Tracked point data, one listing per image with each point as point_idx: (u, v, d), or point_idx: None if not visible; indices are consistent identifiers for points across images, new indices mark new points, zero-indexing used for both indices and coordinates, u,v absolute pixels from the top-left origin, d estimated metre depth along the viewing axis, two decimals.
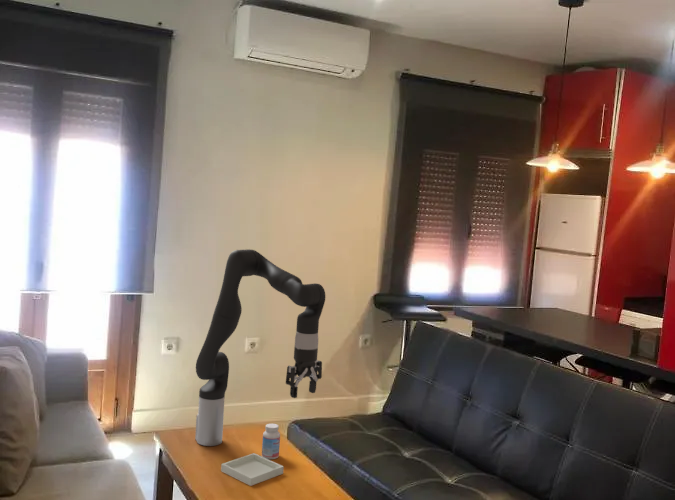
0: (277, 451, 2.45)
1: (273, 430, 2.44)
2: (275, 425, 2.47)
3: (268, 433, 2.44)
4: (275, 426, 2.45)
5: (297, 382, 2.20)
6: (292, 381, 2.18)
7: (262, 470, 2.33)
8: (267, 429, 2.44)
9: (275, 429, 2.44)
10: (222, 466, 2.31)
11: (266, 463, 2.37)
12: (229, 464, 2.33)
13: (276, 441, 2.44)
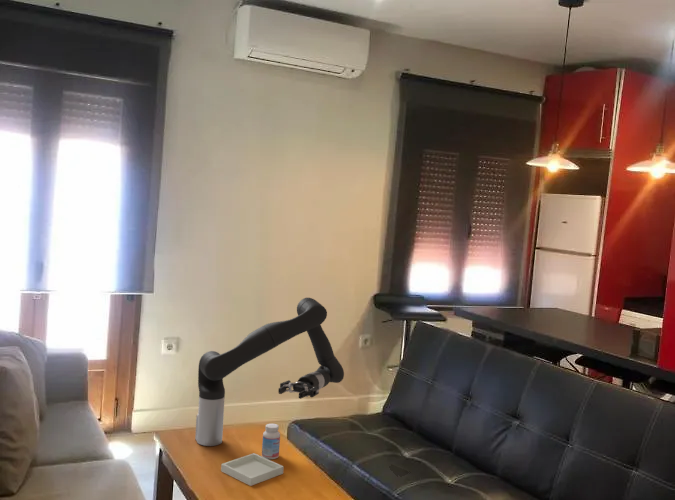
0: (277, 451, 2.45)
1: (273, 430, 2.44)
2: (275, 425, 2.47)
3: (268, 433, 2.44)
4: (275, 426, 2.45)
5: None
6: None
7: (262, 470, 2.33)
8: (267, 429, 2.44)
9: (275, 429, 2.44)
10: (222, 466, 2.31)
11: (266, 463, 2.37)
12: (229, 464, 2.33)
13: (276, 441, 2.44)
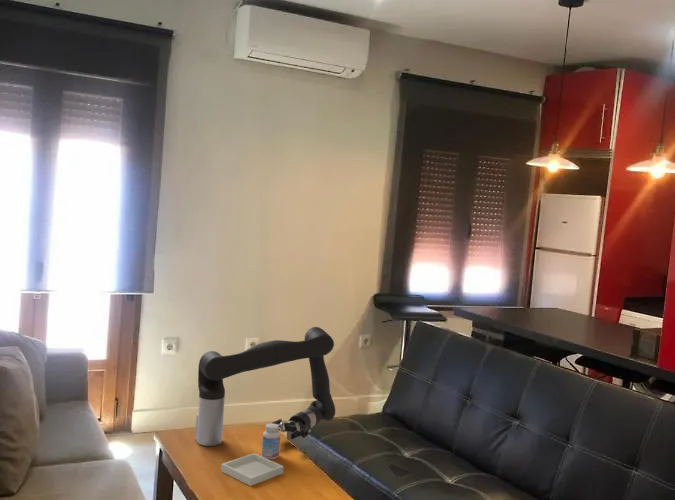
0: (277, 451, 2.45)
1: (273, 430, 2.44)
2: (275, 425, 2.47)
3: (268, 433, 2.44)
4: (275, 426, 2.45)
5: None
6: None
7: (262, 470, 2.33)
8: (267, 429, 2.44)
9: (275, 429, 2.44)
10: (222, 466, 2.31)
11: (266, 463, 2.37)
12: (229, 464, 2.33)
13: (276, 441, 2.44)
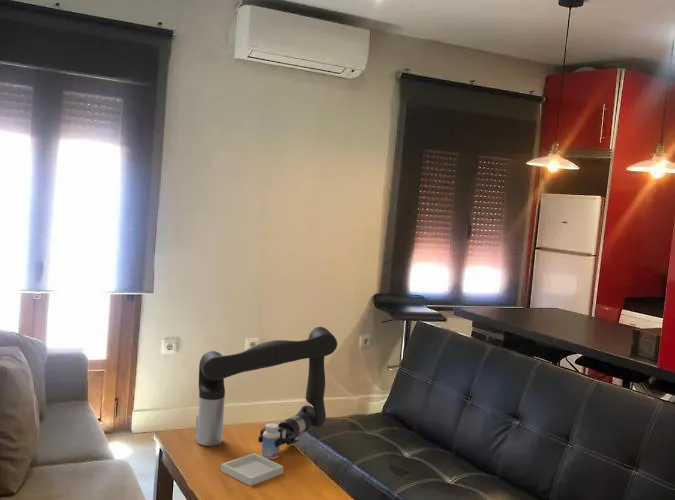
0: (277, 451, 2.45)
1: (273, 430, 2.44)
2: (275, 425, 2.47)
3: (268, 433, 2.44)
4: (275, 426, 2.45)
5: None
6: None
7: (262, 470, 2.33)
8: (267, 429, 2.44)
9: (275, 429, 2.44)
10: (222, 466, 2.31)
11: (266, 463, 2.37)
12: (229, 464, 2.33)
13: None
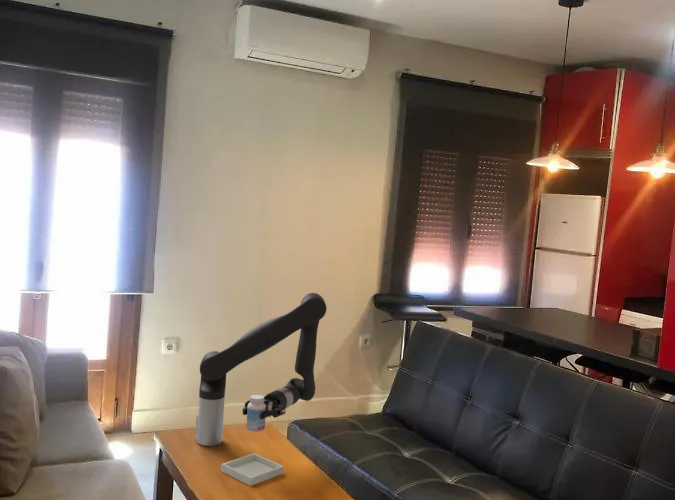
0: (263, 424, 2.30)
1: (258, 401, 2.28)
2: (260, 396, 2.31)
3: (253, 405, 2.29)
4: (260, 398, 2.29)
5: None
6: None
7: (262, 470, 2.33)
8: (252, 400, 2.29)
9: (260, 400, 2.29)
10: (222, 466, 2.31)
11: (266, 463, 2.37)
12: (229, 464, 2.33)
13: None
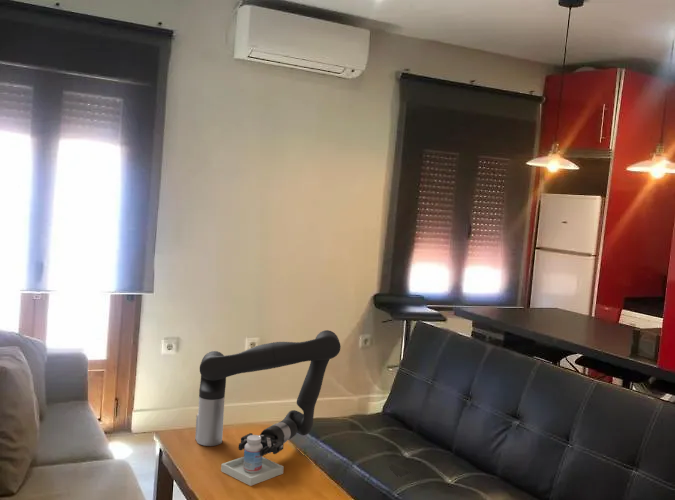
0: (259, 464, 2.31)
1: (255, 442, 2.29)
2: (257, 437, 2.32)
3: (250, 446, 2.30)
4: (257, 439, 2.30)
5: None
6: None
7: (262, 470, 2.33)
8: (249, 441, 2.30)
9: (257, 441, 2.30)
10: (222, 466, 2.31)
11: (266, 463, 2.37)
12: (229, 464, 2.33)
13: (259, 454, 2.30)
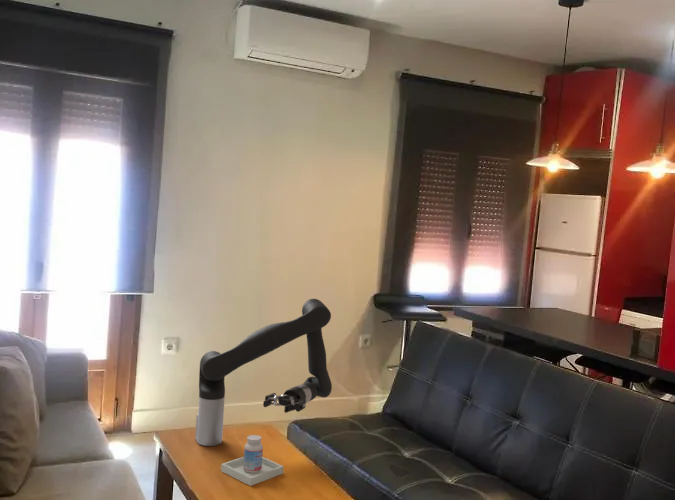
0: (259, 464, 2.31)
1: (255, 442, 2.30)
2: (257, 437, 2.32)
3: (250, 445, 2.30)
4: (257, 438, 2.31)
5: None
6: None
7: (262, 470, 2.33)
8: (249, 441, 2.30)
9: (257, 441, 2.30)
10: (222, 466, 2.31)
11: (266, 463, 2.37)
12: (229, 464, 2.33)
13: (259, 454, 2.30)
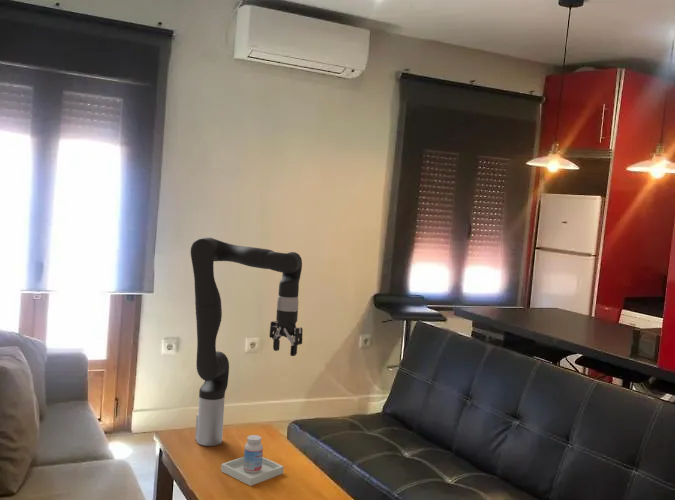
0: (259, 464, 2.31)
1: (255, 442, 2.30)
2: (258, 437, 2.32)
3: (250, 445, 2.30)
4: (257, 438, 2.31)
5: None
6: None
7: (262, 470, 2.33)
8: (249, 441, 2.30)
9: (257, 441, 2.30)
10: (222, 466, 2.31)
11: (266, 463, 2.37)
12: (229, 464, 2.33)
13: (259, 454, 2.30)
